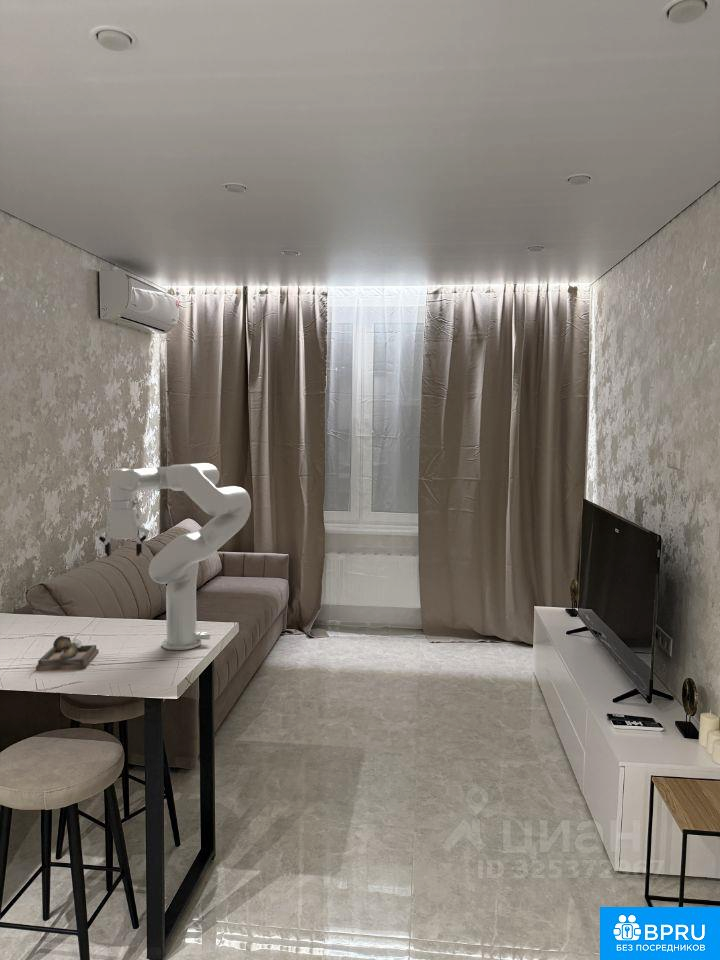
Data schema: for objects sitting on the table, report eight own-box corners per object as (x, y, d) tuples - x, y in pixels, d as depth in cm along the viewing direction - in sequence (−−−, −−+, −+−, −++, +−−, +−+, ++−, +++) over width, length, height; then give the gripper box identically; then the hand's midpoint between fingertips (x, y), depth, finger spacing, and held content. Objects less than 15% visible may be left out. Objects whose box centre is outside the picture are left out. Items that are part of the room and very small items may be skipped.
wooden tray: (98, 652, 226) (98, 644, 226) (85, 668, 212) (84, 660, 211) (52, 654, 225) (52, 645, 225) (36, 670, 210) (35, 661, 210)
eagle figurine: (51, 652, 219) (46, 650, 211) (66, 631, 222) (61, 629, 213) (73, 665, 219) (68, 663, 211) (87, 644, 222) (83, 642, 214)
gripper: (150, 503, 245) (151, 553, 246) (98, 504, 243) (99, 554, 244) (146, 506, 237) (148, 557, 239) (92, 506, 235) (94, 558, 237)
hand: (123, 555), depth 241 cm, fingers open, 9 cm apart
